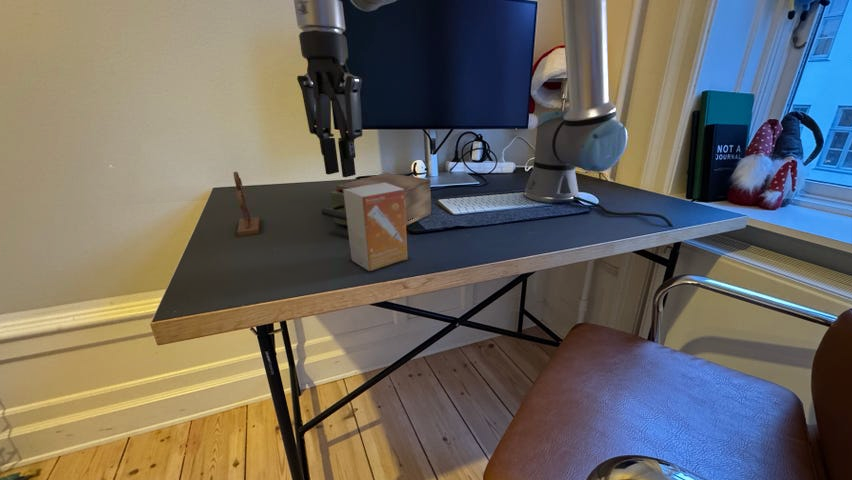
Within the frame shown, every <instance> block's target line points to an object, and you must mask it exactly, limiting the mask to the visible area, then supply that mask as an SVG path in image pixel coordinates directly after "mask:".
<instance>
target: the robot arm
mask: <svg viewBox="0 0 852 480" xmlns="http://www.w3.org/2000/svg"><path fill="white" fill-rule="evenodd" d="M397 1H399V0H349V2H350V3H352V5H353V6H354V7H355V8H356V9H358V10H360V11H363V12H372V11H376V10H378V9H379V8H380V7H381V6H384V5H385V6H386V5H388V4H391V3H395V2H397ZM607 1H608V0H561V13H562V27H563V39H564V40H563V42H564V54H565V69H566V82H567V92H568V96H567V97H568V109H567V110H566V109H565V110H552V111H545V112H542V113H541V114H540V115H539V116H538V121H537V125H536V136H535V137H536V138H535V147H534V156H533V157H534V158H533V167H532V171H531V173H530V175H529V178H528V180H527V182H526V185H525V188H524V197H525V198H527V199H529V200H532V201H535V202H540V203H546V204H547V203H548V204H567V203H573V202H576V201H580V202H583V203H586V204H588V205H592V206H593V207H597V208H599V209H601V210H602V211H603V212H605V213H606V214H609V215H612V216H642V217H652V218H658V219H661V220H663V221H665V223H666V224H667V225H668V226H669V227H674V225H673V223H672V222H671V221H670V219H668V217H666V216H664V215H662V214H659V213H650V212H649V213H648V212H640V211H628V212H627V211H626V212H619V211H618V212H616V211H611V210H608V209H607V208H606V207H605V206H603V205H601V204H599V203H596V202H593V201H590V200H587V199H584V198H582V197H579V196H578V195H579V188H578V181H577V175H576V168H578V169H582V170H583V171H586V172H593V173H594V172H595V173H600V172H605V171H607V170H609V169H610V168H612V167H614V166H615V164H617V162H619V159H620V158H621V157H623V154H624V152H625V150H626V148H627V144H628V130H627V128H626V126H624V125H623V123H621V121H618V120H617V107H616V105H615V104H613V102H611V101H610V99H609V96H610V95H609V56H608V55H609V53H608V10H607V9H608V8H607V5H608V4H607ZM343 4H344V3H343V0H293V5H294V10H295V17H296V18H295V19H296V24H297V28H298V29H299V30H301V32H299V34H298V38H299V46H300V51H301V56H302V57H303V59H305V60H306V62H307V68H306V73H304V74H303V75H297V78H296V80H297V83H298V85H299V87H300V89H301V95H302V99H303V105H304V111H305V115H306V121H307V127H308V130H309V133H310V135H315V136H316V137H317V138H318V141H319V146H320V153H321V155H322V157H323V163H324V171H325V175H333V174H337V173H340V168H339V161H338V153H339V159H340V167H341V177H342V178H350V177H354V176H356V174H357V173H356V165H355V159H356V155H357V154H356V146H355V140H356V139H358V138H361V137H363V119H362V104H361V103H362V102H361V89H362V82H363V80H362V79H363V78H362V77H361V76H359V75H358V76H357V75H353V74H351V73H350V72H349V68H348V66H347V64H346V61H348V59H349V51H348V41H347V37H346V35H344V34H343V33H344V32H345V31H346V29H347V28H346V21H345V14H344V6H343ZM332 107H333V111H334V116H335V120H336V123H337V128H338V131H339V136H340V137H338V138H337V139H338V140H337V144H338V153H337V146H336V138H335V137H334V136H335V134H334V133H332ZM525 193H526V194H525Z"/></svg>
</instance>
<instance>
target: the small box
mask: <svg viewBox="0 0 852 480" xmlns="http://www.w3.org/2000/svg"><path fill="white" fill-rule="evenodd" d="M343 192H344V200H345V208H346V217H347V225H348V226H347V225H346V226H347V233H348V242H349V249H350V256H351V261H352V262H354V263H355V264H357V265H358V266H360V267H361V268H363V269H365V270H366V271H368V272H372V271H374V270H378V269H380V268H384V267H387V266H390V265H392V264H396V263H399V262H403V261H406V260H408V243H407V242H408V240H407V237H408V236H407V226H406V215H405V193H404V189H402V188H399V187H397V186H394V185H391V184H388V183H385V182H384V183H379V184H374V185H365V186H360V187H355V188H350V189H343Z"/></svg>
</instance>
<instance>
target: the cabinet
mask: <svg viewBox="0 0 852 480" xmlns="http://www.w3.org/2000/svg"><path fill="white" fill-rule="evenodd" d="M384 182H385V183H388V184H391V185H394V186H397V187H399V188H402V189H404V193H405V215H406V227H407V226H409V225H411V224H413V223H415V222H418V221H419V220H421V219H423V218H425V217H428V216H430V215H432V196H431V192H432V191H431V190H432V188H431V179H430V178H424V177H418V176H410V175H403V174H397V173H390V172H383V173H379V174H375V175H372V176H368V177H363V178H359V179H356V180H352V181H347V182H344V183H341V184H337V185H335V188H336V190H335V191H336V192H341V193H342V191H343V189H350V188H355V187H360V186H365V185H374V184H379V183H384ZM412 218H413V219H412ZM410 219H411V220H410ZM408 220H409V221H408Z"/></svg>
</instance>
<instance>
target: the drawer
mask: <svg viewBox="0 0 852 480" xmlns="http://www.w3.org/2000/svg"><path fill="white" fill-rule="evenodd" d="M330 198H331V206H332V207H330V208H329V207H322V208H321V210H320V213H321V215H322V216H325V217H329V218H333V219H334V223H335V224H339V225H343V226H347V227H348V225H347V217H346V208H345V200H344V192H343V191H342V193H341V192H337V191H336V190H335V191H331V192H330Z"/></svg>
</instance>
